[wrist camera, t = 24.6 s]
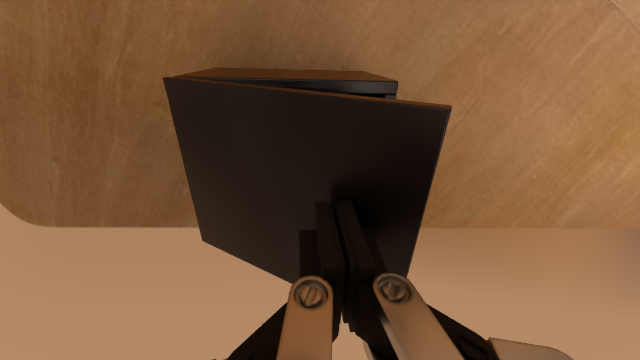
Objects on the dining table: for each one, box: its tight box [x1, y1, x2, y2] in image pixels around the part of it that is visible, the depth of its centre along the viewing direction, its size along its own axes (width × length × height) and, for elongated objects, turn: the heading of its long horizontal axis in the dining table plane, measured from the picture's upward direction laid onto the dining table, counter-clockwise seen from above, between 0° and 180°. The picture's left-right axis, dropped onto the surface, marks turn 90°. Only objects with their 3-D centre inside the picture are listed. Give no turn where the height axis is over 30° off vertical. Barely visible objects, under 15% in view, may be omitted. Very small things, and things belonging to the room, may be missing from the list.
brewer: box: [174, 68, 398, 100], centre depth 22 cm, size 14×12×9 cm
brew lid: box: [163, 77, 452, 284], centre depth 14 cm, size 14×12×1 cm
